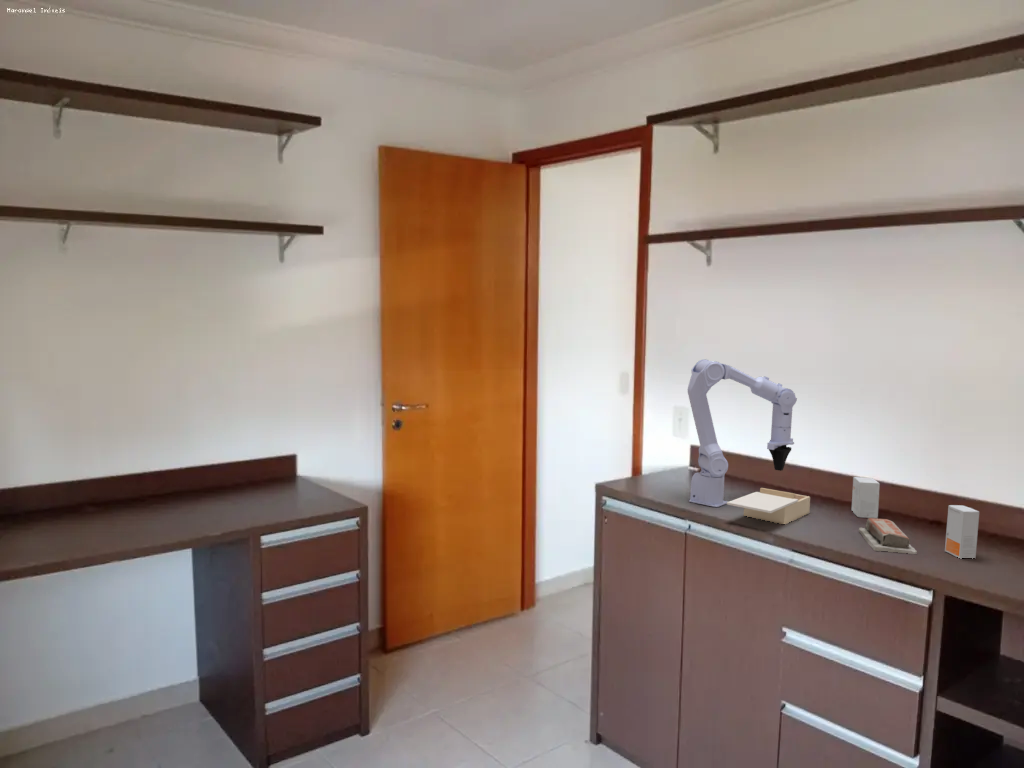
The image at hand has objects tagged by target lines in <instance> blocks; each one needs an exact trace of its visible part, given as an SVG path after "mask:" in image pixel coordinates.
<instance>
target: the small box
mask: <svg viewBox="0 0 1024 768" xmlns="http://www.w3.org/2000/svg"><path fill="white" fill-rule="evenodd" d="M880 485H881V484H880V482H879V481H877V480H876V479H875V478H874V477H861V476H853V477H852V492H851V493H852V494H851V495H852V496H851V497H852V499H851V512H852V511H853V512H852V513H853V515H855V516H856V517H858V518H863V519H864V518H865V519H866V518H867V519H868V518H876V519H879V507H880V506H879V502H880V487H881V486H880Z"/></svg>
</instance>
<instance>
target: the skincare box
mask: <svg viewBox="0 0 1024 768" xmlns="http://www.w3.org/2000/svg"><path fill="white" fill-rule="evenodd" d="M947 507H948V508H947V519H946V533H945V544H944V545H945V546H944V552H946V553H947V554H950V555H952V556H954V557H955V558H957V557H958V558H957V559H959V558H960V559H959V560H963V559H962V558H972V559H971V560H974V559H973V558H975V559H976V557H977V546H978V545H977V544H978V534H979V532H978V531H979V523H980V522H979V520H980V511H979V510H977V509H974V508H973V507H968V506H966V505H962V504H961V505H960V504H959V505H958V504H950V505H948V506H947Z"/></svg>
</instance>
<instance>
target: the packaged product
mask: <svg viewBox="0 0 1024 768" xmlns="http://www.w3.org/2000/svg"><path fill="white" fill-rule="evenodd" d="M858 532H859V534H860V535H861V536H862V537H863V539H864V540H865V542H866V543H867V545H869V547H870V548H871V549H872V550H873V551H874V552H881V551H888V552H887V553H893V552H898V553H899V554H906V553H908V555H917V553H918V550H916V549H915V547H913V546H912V545H911V544H910V543H911V539H910V537H908V535H906V534H905V532H903V531H902V530H901V529H900V527H899V526H898V525H897V524H896V523H895V522H894V521H892V520H890V519H887V518H867V520H866V523H865V527H859V528H858ZM898 553H897V554H898Z"/></svg>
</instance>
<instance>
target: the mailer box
mask: <svg viewBox="0 0 1024 768" xmlns="http://www.w3.org/2000/svg"><path fill="white" fill-rule="evenodd" d="M794 494H795V498H794V499H798V502H796V503H794V504H791V505H789V506H787V507H784V508H782V509H779V510H777V511H775V512H772V513H767V512H762V511H757V510H752V509H747V508H743V517H744V516H747V517H746V518H748V517H752V518H751V519H753V518H756V519H755V520H758V519H761V520H760V521H762V520H765V521H764V522H767V521H770V522H769V523H772V522H774V523H773V524H777V523H779V524H778V525H781V524H785V525H787V524H790V523H791V521H792V522H794V521H796V520H798V519H800V518H803V517H804V515H805V516H806V515H809V514H810V510H811V509H810V508H811V507H810V506H811V496H809V495H808V496H807V495H802V494H797V493H794ZM802 516H803V517H802ZM789 522H790V523H789Z"/></svg>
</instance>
